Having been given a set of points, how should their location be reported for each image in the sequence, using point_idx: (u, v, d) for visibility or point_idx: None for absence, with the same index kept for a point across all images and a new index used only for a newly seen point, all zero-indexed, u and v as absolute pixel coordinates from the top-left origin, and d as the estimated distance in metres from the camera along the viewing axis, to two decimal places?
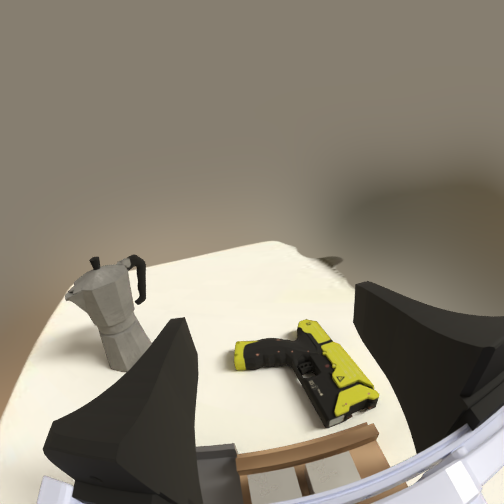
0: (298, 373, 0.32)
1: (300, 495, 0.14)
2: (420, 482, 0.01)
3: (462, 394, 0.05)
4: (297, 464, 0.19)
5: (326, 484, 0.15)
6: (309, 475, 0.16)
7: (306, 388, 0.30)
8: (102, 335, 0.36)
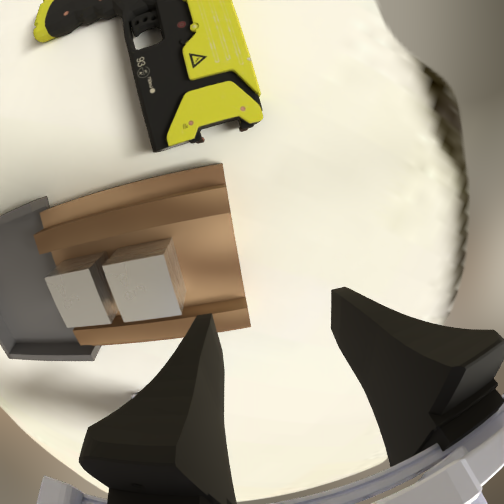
0: (126, 38, 0.12)
1: (105, 313, 0.15)
2: (420, 482, 0.01)
3: (433, 413, 0.04)
4: None
5: (132, 303, 0.15)
6: (110, 285, 0.15)
7: (133, 71, 0.13)
8: None
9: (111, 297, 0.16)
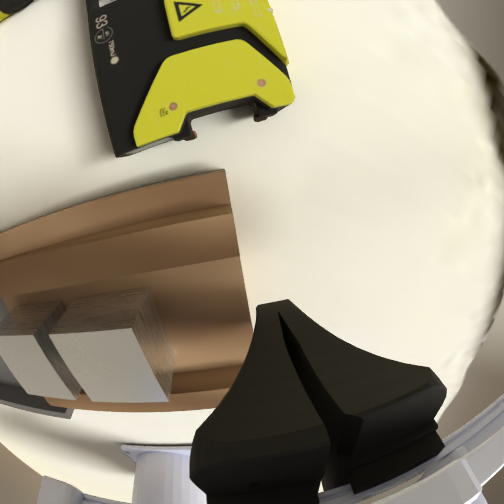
0: None
1: (66, 388, 0.09)
2: (420, 482, 0.01)
3: (344, 452, 0.04)
4: None
5: (98, 383, 0.09)
6: (64, 359, 0.08)
7: (91, 37, 0.07)
8: None
9: None
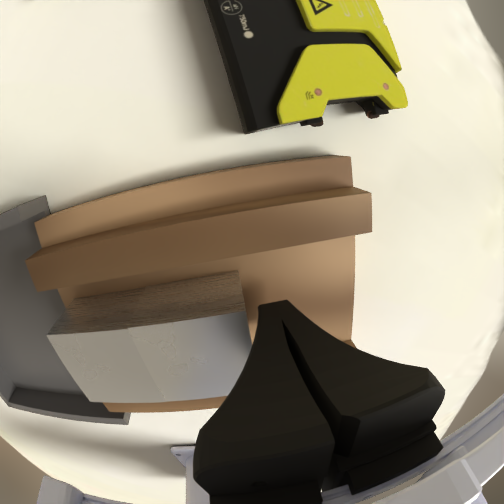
0: None
1: (156, 390, 0.09)
2: (420, 482, 0.01)
3: (342, 453, 0.04)
4: None
5: (182, 380, 0.09)
6: (142, 356, 0.09)
7: (208, 7, 0.07)
8: None
9: None
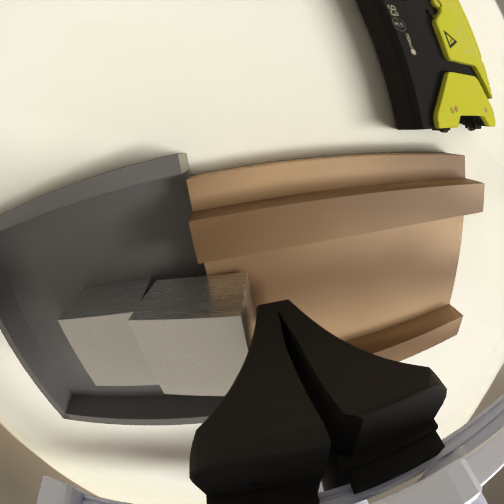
0: None
1: None
2: (420, 482, 0.01)
3: (344, 451, 0.04)
4: None
5: (179, 375, 0.09)
6: (142, 348, 0.09)
7: (376, 16, 0.08)
8: None
9: None
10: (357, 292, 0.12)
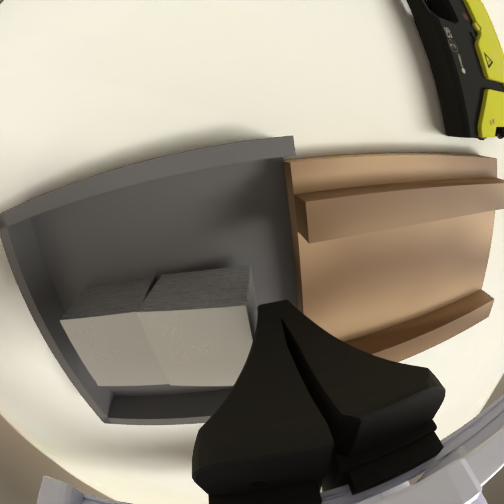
0: None
1: (162, 371, 0.10)
2: (420, 482, 0.01)
3: (342, 452, 0.04)
4: None
5: (185, 366, 0.10)
6: (149, 339, 0.10)
7: (435, 35, 0.08)
8: None
9: None
10: (418, 275, 0.12)
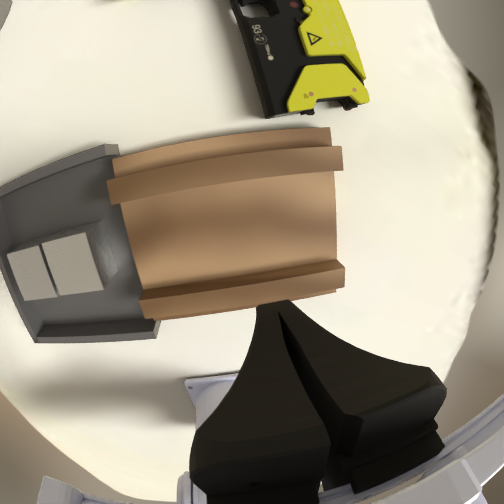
0: (235, 4, 0.12)
1: (52, 287, 0.15)
2: (420, 482, 0.01)
3: (344, 451, 0.04)
4: None
5: (65, 277, 0.15)
6: (48, 261, 0.15)
7: (245, 36, 0.13)
8: None
9: None
10: (228, 235, 0.18)
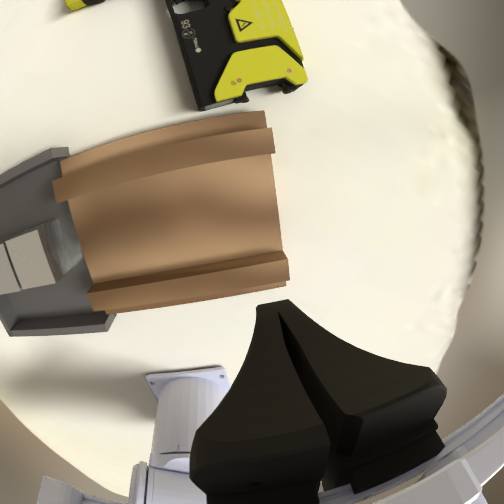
0: (167, 4, 0.11)
1: (15, 281, 0.15)
2: (420, 482, 0.01)
3: (344, 452, 0.04)
4: None
5: (25, 272, 0.15)
6: (11, 257, 0.14)
7: (176, 33, 0.12)
8: None
9: None
10: (164, 228, 0.17)
